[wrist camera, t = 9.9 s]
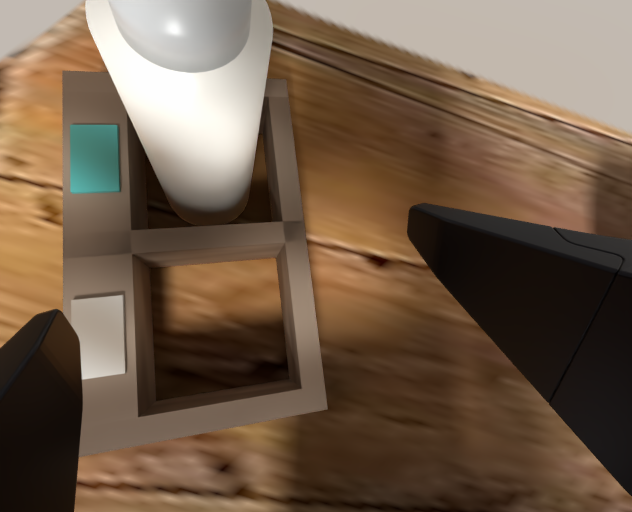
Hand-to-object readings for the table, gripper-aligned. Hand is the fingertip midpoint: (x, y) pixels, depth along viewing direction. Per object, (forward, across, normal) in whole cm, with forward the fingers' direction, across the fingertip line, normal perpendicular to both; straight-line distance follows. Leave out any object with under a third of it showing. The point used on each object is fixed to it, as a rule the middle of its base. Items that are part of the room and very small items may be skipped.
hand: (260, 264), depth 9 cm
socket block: (+9, +1, +5) cm, 11 cm away
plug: (+12, 0, +3) cm, 12 cm away
